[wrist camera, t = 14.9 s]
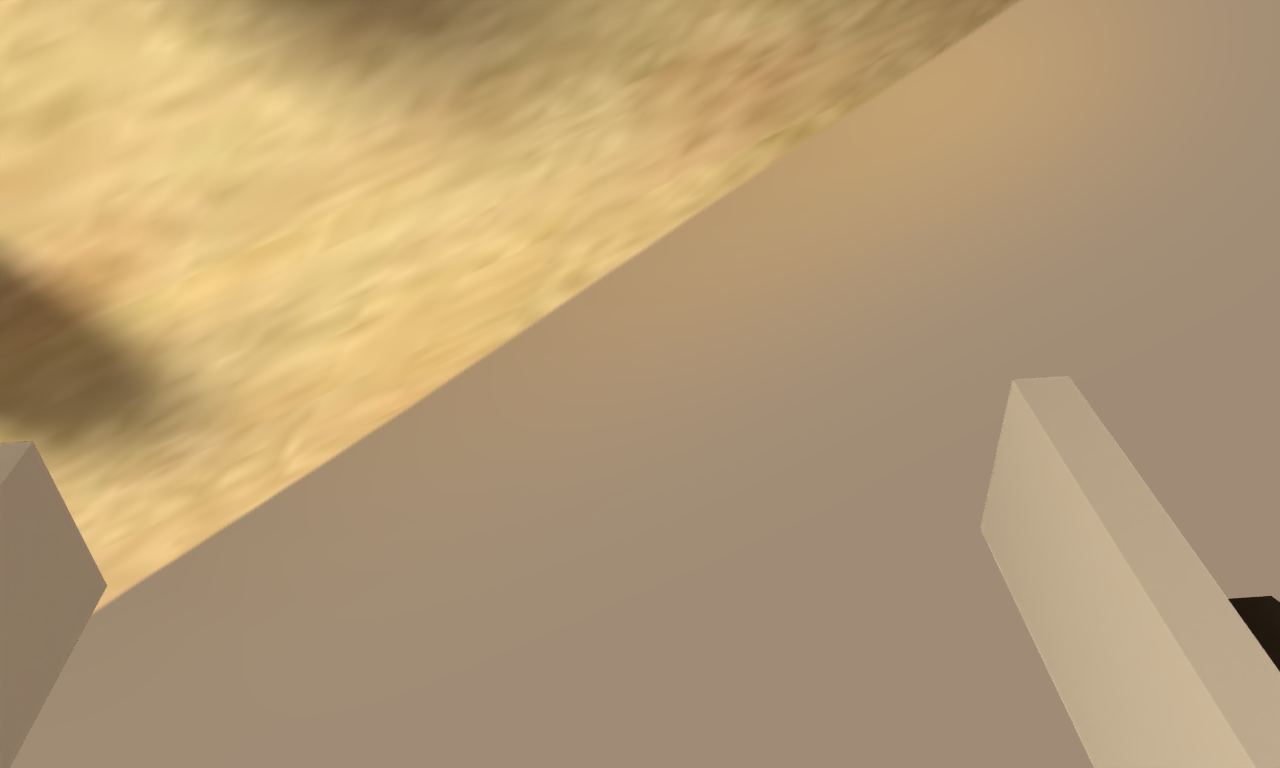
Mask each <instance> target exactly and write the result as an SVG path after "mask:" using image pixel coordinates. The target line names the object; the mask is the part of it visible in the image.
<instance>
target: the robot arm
mask: <svg viewBox="0 0 1280 768" xmlns="http://www.w3.org/2000/svg"><path fill="white" fill-rule="evenodd" d="M980 529H981V531H982V533H983V535H984V538H985V540H986V541H987V544H988V546H989V548H990V550H991V552H992V554H993V556H994V559H995V561H996V563H997V565H998V567H999V569H1000V571H1001V573H1002V575H1003V577H1004V579H1005V581H1006V584H1007V585H1008V588H1009V590H1010V592H1011V594H1012V596H1013V598H1014V600H1015V603H1016V605H1017V607H1018V609H1019V611H1020V613H1021V615H1022V617H1023V619H1024V622H1025V624H1026V626H1027V628H1028V630H1029V632H1030V634H1031V636H1032V638H1033V640H1034V642H1035V645H1036V646H1037V649H1038V651H1039V653H1040V655H1041V657H1042V659H1043V661H1044V664H1045V665H1046V668H1047V670H1048V672H1049V674H1050V676H1051V678H1052V680H1053V682H1054V685H1055V687H1056V689H1057V690H1058V693H1059V695H1060V697H1061V699H1062V701H1063V703H1064V705H1065V707H1066V710H1067V712H1068V714H1069V716H1070V718H1071V720H1072V722H1073V724H1074V727H1075V729H1076V731H1077V733H1078V735H1079V737H1080V739H1081V741H1082V743H1083V745H1084V747H1085V750H1086V752H1087V754H1088V756H1089V758H1090V760H1091V762H1092V764H1093V766H1094V768H1280V602H1279V601H1277V600H1276V599H1275V598H1273V597H1272V596H1263V597H1249V598H1233V599H1227V597H1226V596H1225V594H1224V593H1223V592H1222V590H1221V589H1220V587H1219V586H1218V585H1217V583H1216V582H1215V580H1214V579H1213V577H1212V576H1211V575H1210V573H1209V572H1208V570H1207V569H1206V568H1205V566H1204V565H1203V564H1202V562H1201V561H1200V559H1199V558H1198V556H1197V555H1196V554H1195V552H1194V551H1193V550H1192V548H1191V547H1190V545H1189V544H1188V542H1187V541H1186V540H1185V538H1184V537H1183V535H1182V534H1181V533H1180V531H1179V530H1178V528H1177V527H1176V526H1175V524H1174V523H1173V521H1172V520H1171V519H1170V517H1169V516H1168V514H1167V513H1166V512H1165V510H1164V509H1163V507H1162V506H1161V505H1160V503H1159V502H1158V500H1157V499H1156V498H1155V496H1154V495H1153V494H1152V492H1151V491H1150V489H1149V488H1148V486H1147V485H1146V484H1145V482H1144V481H1143V479H1142V478H1141V477H1140V475H1139V474H1138V472H1137V471H1136V469H1135V468H1134V467H1133V465H1132V464H1131V463H1130V461H1129V460H1128V458H1127V457H1126V455H1125V454H1124V453H1123V451H1122V450H1121V449H1120V447H1119V446H1118V444H1117V443H1116V442H1115V440H1114V439H1113V437H1112V436H1111V434H1110V433H1109V432H1108V430H1107V429H1106V428H1105V426H1104V425H1103V423H1102V422H1101V421H1100V419H1099V418H1098V416H1097V415H1096V413H1095V412H1094V411H1093V409H1092V408H1091V406H1090V405H1089V404H1088V402H1087V401H1086V399H1085V398H1084V397H1083V395H1082V394H1081V393H1080V391H1079V390H1078V388H1077V387H1076V385H1075V384H1074V383H1073V381H1072V380H1071V378H1070V377H1069V376H1059V377H1043V378H1027V379H1013V380H1012V384H1011V389H1010V393H1009V398H1008V403H1007V407H1006V412H1005V416H1004V421H1003V426H1002V431H1001V435H1000V440H999V444H998V450H997V454H996V458H995V463H994V468H993V472H992V477H991V482H990V486H989V491H988V496H987V500H986V506H985V510H984V514H983V519H982V523H981V528H980ZM106 587H107V585H106V583H105V581H104V579H103V577H102V575H101V573H100V571H99V569H98V567H97V565H96V563H95V561H94V559H93V557H92V555H91V553H90V551H89V550H88V548H87V546H86V544H85V542H84V540H83V538H82V536H81V534H80V532H79V530H78V528H77V526H76V524H75V522H74V520H73V518H72V516H71V514H70V512H69V510H68V509H67V507H66V505H65V503H64V501H63V499H62V497H61V495H60V493H59V491H58V489H57V487H56V485H55V483H54V481H53V479H52V477H51V475H50V473H49V471H48V470H47V468H46V466H45V464H44V462H43V460H42V458H41V456H40V454H39V452H38V450H37V448H36V446H35V444H34V442H33V441H29V442H13V443H0V768H10V766H11V764H12V762H13V761H14V759H15V757H16V755H17V753H18V751H19V749H20V747H21V746H22V744H23V742H24V740H25V738H26V736H27V734H28V732H29V731H30V729H31V727H32V725H33V723H34V721H35V719H36V718H37V716H38V714H39V712H40V710H41V708H42V706H43V705H44V702H45V701H46V699H47V697H48V695H49V693H50V691H51V690H52V688H53V686H54V684H55V682H56V680H57V678H58V676H59V674H60V673H61V671H62V669H63V667H64V665H65V663H66V662H67V660H68V658H69V656H70V654H71V652H72V650H73V648H74V647H75V645H76V643H77V641H78V639H79V637H80V635H81V633H82V632H83V630H84V628H85V626H86V624H87V622H88V620H89V619H90V617H91V615H92V613H93V611H94V609H95V607H96V605H97V604H98V602H99V600H100V598H101V596H102V594H103V592H104V590H105V589H106Z"/></svg>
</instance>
